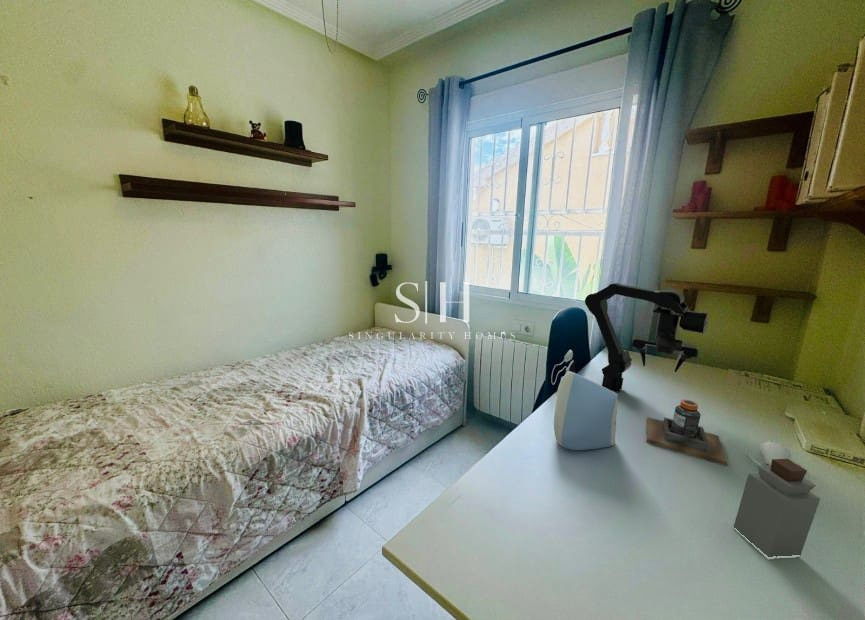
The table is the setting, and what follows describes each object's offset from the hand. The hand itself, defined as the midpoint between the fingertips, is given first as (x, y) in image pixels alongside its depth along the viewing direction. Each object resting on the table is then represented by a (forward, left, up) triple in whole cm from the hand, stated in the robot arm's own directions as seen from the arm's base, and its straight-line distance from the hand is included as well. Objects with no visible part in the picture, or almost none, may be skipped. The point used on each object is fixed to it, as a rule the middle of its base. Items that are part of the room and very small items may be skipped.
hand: (659, 368), depth 117 cm
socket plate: (+7, -23, -13) cm, 27 cm away
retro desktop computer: (-19, -37, -13) cm, 44 cm away
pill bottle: (+7, -23, -12) cm, 27 cm away
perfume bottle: (+18, -55, -13) cm, 59 cm away
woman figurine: (+26, -23, -14) cm, 38 cm away
